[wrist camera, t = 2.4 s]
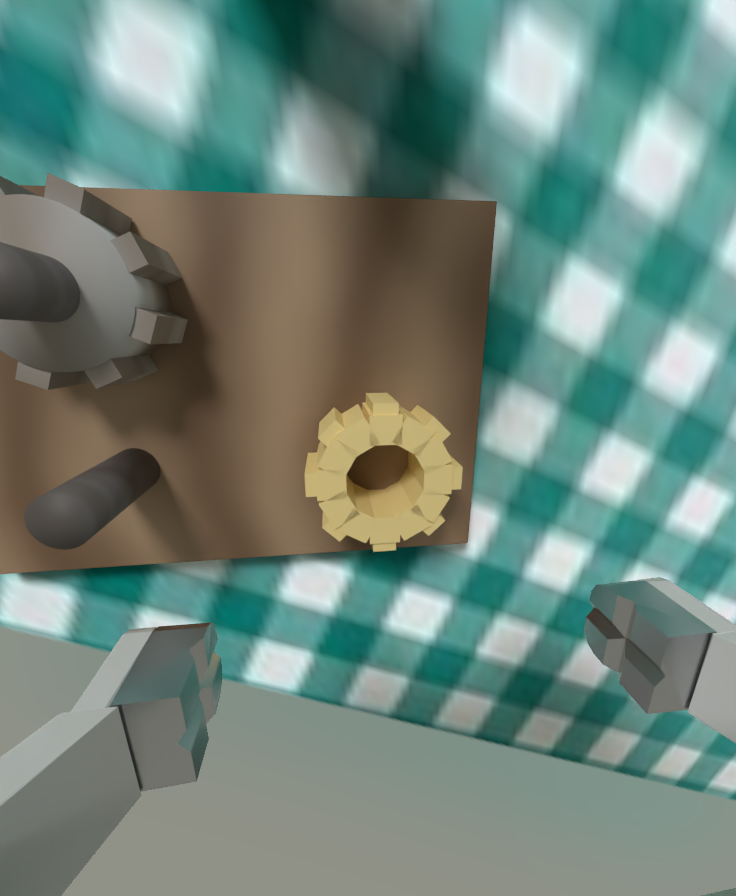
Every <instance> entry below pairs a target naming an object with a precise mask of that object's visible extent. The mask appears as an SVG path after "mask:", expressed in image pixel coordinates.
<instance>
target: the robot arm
mask: <svg viewBox="0 0 736 896" xmlns="http://www.w3.org/2000/svg"><path fill="white" fill-rule="evenodd" d="M590 602H591V604H592V605H593V607H594V609H593V610H592V611H591V612H590V613H589V614H588V616H587V617H586V622H585V629H584V630H585V634H586V638H587V642H588V644H589V646H590V648H591V650H592V651H593V653H594V654H595V656H596V657H597V658H598V659H599V660H600V661H601V663H602V664H604V665H606V666H607V667H609V668H611V669H613V670H614V671H616V672H618V678H619V683H620V684H621V685H622V686H623V687H624V688H625V690H626V691H627V692H628V693H629V694H630V695H631V696H632V697H633V699H634V700H635V701H636V702H637V703H638V704H639V705H640V706H641V708H642V709H643V710H644V711H645V712H646V713H647V714H651V713H660V712H669V711H678V710H687V709H688V713H690V714H692V715H693V716H695V717H696V718H698V719H699V720H701V721H702V722H704V723H705V724H707V725H708V726H710V727H711V728H713V729H714V730H716V731H717V732H719V733H720V734H722V735H724V736H725V737H727V738H728V739H730V740H731V741H733V742H734V743H736V625H735V624H733V623H732V622H730V621H729V620H727V619H726V618H724V617H723V616H721V615H720V614H718V613H717V612H715V611H714V610H712V609H711V608H709V607H708V606H706V605H705V604H703V603H702V602H700V601H699V600H697V599H696V598H695V597H693V596H692V595H690V594H689V593H687V592H686V591H684V590H683V589H681V588H680V587H678V586H677V585H675V584H674V583H672V582H671V581H669V580H666V579H663V578H660V577H658V578H650V579H642V580H637V581H628V582H619V583H609V584H600V585H596V586H595V587H594V588H593V590H592V591H591V596H590ZM217 640H218V638H217V633H216V628H215V625H214V624H213V623H201V624H188V625H174V626H161V627H158V628H156V627H154V628H141V629H131V630H129V631H127V632H126V633H124V634H123V635H122V637H121V638H120V640H119V641H118V642H117V644H116V645H115V647H114V648H113V650H112V651H111V653H110V654H109V656H108V657H107V659H106V660H105V662H104V663H103V665H102V666H101V667H100V669H99V671H98V672H97V673H96V675H95V677H94V678H93V679H92V681H91V682H90V684H89V685H88V687H87V688H86V690H85V691H84V693H83V694H82V695H81V697H80V698H79V700H78V701H77V703H76V704H75V706H74V707H73V709H72V710H71V712H67V713H60V714H59V715H57V716H56V717H55V718H53V719H52V720H50V721H49V722H48V723H47V724H45V725H44V726H42V727H41V728H40V729H38V730H37V731H36V732H34V733H33V734H32V735H30V736H29V737H27V738H26V739H25V740H23V741H22V742H21V743H19V744H18V745H17V746H15V747H14V748H13V749H11V750H10V751H8V752H7V753H6V754H5V755H3V756H2V757H0V896H61V895H62V894H63V893H64V891H65V890H66V889H67V888H68V886H69V885H70V884H71V883H72V881H73V880H74V879H75V878H76V876H77V875H78V874H79V873H80V871H81V870H82V869H83V868H84V866H85V865H86V864H87V863H88V861H89V860H90V859H91V857H92V856H93V855H94V854H95V852H96V851H97V850H98V849H99V848H100V846H101V845H102V843H103V842H104V841H105V840H106V839H107V837H108V836H109V835H110V834H111V832H112V831H113V830H114V829H115V827H116V826H117V825H118V824H119V822H120V821H121V820H122V819H123V817H124V816H125V815H126V814H127V812H128V811H129V810H130V809H131V807H132V806H133V805H134V804H135V802H136V801H137V800H138V799H139V797H140V796H141V791H146V790H152V789H157V788H163V787H168V786H174V785H179V784H185V783H190V782H196V781H197V778H198V775H199V771H200V767H201V764H202V761H203V757H204V754H205V750H206V746H207V743H208V739H209V738H208V732H207V726H206V724H207V722H208V721H209V720H210V719H211V718H212V717H213V716H214V715H215V714H216V711H217V707H218V702H219V699H220V693H221V685H222V664H221V657H219V656H218V655H217V654H216V653H215V652H214V649H215V646H216V643H217ZM702 896H736V888H734V889H729V890H725V891H721V892H716V893H711V894H707V895H702Z"/></svg>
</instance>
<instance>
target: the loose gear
mask: <svg viewBox="0 0 736 896" xmlns="http://www.w3.org/2000/svg"><path fill="white" fill-rule="evenodd" d="M450 434H451V433H450V432H449V431H448V430H447V429H446V428H445V427H444V426H443V425H442V424H441V423H440V422H439V421H438V420H437V419H436V418H435V417H434V416H432V415H431V414H430V413H428V412H427V411H426V410H424V409H423V408H421V407H420V406H419V405H417V406H416V407H415V408H414V409H413V410H412V411H411V412H409V411H408V410H406V409H404V408H402V407H400V406H399V403H398V402H397V401H396V400H395V399H394V398H393V397H392V396H390V395H389V394H388V393H366V402H365V403H362V409H361V408H360V406H359V404H357V405H355V406H354V407H352V408H350V409H349V410H347V411H345V412H344V413H342V414H341V413H340V412H339V411H338V410H337V409H336V408H335V407H334V408H333V409H332V410H331V411H330V412H329V413H328V414H327V415H326V416H325V417H324V418H323V419H322V420H321V421H320V422H319V432H318V439H319V440H320V443H319V445H318V449H317V452H315V453H308V456H307V462H306V468H305V474H304V475H305V491H306V497H317V501H319V506H320V508H321V509H322V511H323V519H322V528H323V529H324V530H325V531H327V532H328V533H329V534H330V535H332V536H333V537H334V538H336V539H337V540H338V541H339V542H340V541H341V540H342V539H343V538H344V537H345V536H346V535H348V536H350V537H352V538H355V539H357V540H359V541H361V542H364V543H366V542H367V541H368V539H369V541H370V544H372V548H373V552H377V551H392V550H396V542H400V535H401V537H402V538H403V540H404V541H405V540H407V539H409V538H410V537H412V536H414V535H415V534H417V533H419V532H421V531H424V532H425V533H426V534H427V535H428V536H429V535H431V534H432V533H433V532H434V531H435V530H436V529H437V528H438V527H439V526H440V525H441V524H442V523H443V522H445V519H444V518H443V516H442V515H441V513H440V512H441V511H442V509H443V508H444V506H445V505H446V503H447V502H448V500H449V499H450V498H449V496H448V495H447V494H451V491H452V490H456V489H461V484H462V470H463V467H462V466H461V465H460V464H459V463H458V462H457V461H456V460H455V459H454V458H453V457H452V456H451V455H449V453H448V452H447V450H446V448H445V446H444V444H443V441H444V440H445V439H446V438H447V437H448V436H449V435H450ZM379 445H398V446H400V447H402V448H404V449H405V450H407V451H409V454H408V467H407V469H406V471H405V472H404V474H403V475H402V477H401V479H400V480H399V481H398V482H396V483H394V484H393V485H391V486H389V487H387V488H386V489H378V490H366V489H364V488H362V487H360V486H358V485H356V484H354V483H352V481H351V480H350V478H349V477H348V475H347V473H348V471H349V469H350V467H351V466H352V464H353V462H354V460H355V459H356V457H357V456H359V455H360V454H362V453H364V452H365V451H367V450H369V449H370V448H372V447H374V446H379Z"/></svg>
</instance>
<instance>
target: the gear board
mask: <svg viewBox="0 0 736 896" xmlns="http://www.w3.org/2000/svg"><path fill="white" fill-rule="evenodd" d="M496 203H497V201H469V200H439V199H410V198H380V197H350V196H321V195H291V194H262V193H232V192H203V191H173V190H144V189H114V188H85V187H78V186H76V185H74V184H71V183H69V182H67V181H65V180H62V179H60V178H58V177H55V176H53V175H51V174H49V173H48V174H47V181H46V186H25V185H17V184H15V183H13V182H11V181H9V180H7V179H5V178H3V177H1V176H0V574H9V573H24V572H39V571H54V570H69V569H84V568H99V567H114V566H129V565H144V564H159V563H174V562H189V561H204V560H219V559H234V558H249V557H264V556H279V555H294V554H309V553H324V552H339V551H354V550H369V549H373V548H372V544H370V541H369V539H368V541H367V542H366V543H364V542H361V541H359V540H357V539H355V538H352V537H350V536H348V535H346V536H345V537H344V538H343V539H342V540H341V541H340V542H339V541H338V540H337V539H336V538H334V537H333V536H332V535H330V534H329V533H328V532H327V531H325V530H324V529H323V528H322V519H323V511H322V509H321V508H320V506H319V501H317V497H306V491H305V475H304V474H305V468H306V462H307V456H308V453H315V452H317V449H318V445H319V443H320V440H319V439H318V432H319V422H320V421H321V420H322V419H323V418H324V417H325V416H326V415H327V414H328V413H329V412H330V411H331V410H332V409H333V408H334V407H335V408H336V409H337V410H338V411H339V412H340V413H341V414H342V413H344V412H345V411H347V410H349V409H350V408H352V407H354V406H355V405H357V404H359V406H360V408H361V409H362V403H365V402H366V393H388V394H389V395H390V396H392V397H393V398H394V399H395V400H396V401H397V402H398V403H399V406H400V407H402V408H404V409H406V410H408V411H409V412H411V411H412V410H413V409H414V408H415V407H416V406H417V405H419V406H420V407H421V408H423V409H424V410H426V411H427V412H428V413H430V414H431V415H432V416H434V417H435V418H436V419H437V420H438V421H439V422H440V423H441V424H442V425H443V426H444V427H445V428H446V429H447V430H448V431H449V432H450V433H451V434H450V435H449V436H448V437H447V438H446V439H445V440H444V441H443V444H444V446H445V448H446V450H447V452H448V453H449V455H451V456H452V457H453V458H454V459H455V460H456V461H457V462H458V463H459V464H460V465H461V466H462V467H463V470H462V484H461V489H456V490H452V491H451V494H447V495H448V496H449V498H450V499H449V500H448V502H447V503H446V505H445V506H444V508H443V509H442V511H441V512H440V513H441V515H442V516H443V518H444V519H445V522H443V523H442V524H441V525H440V526H439V527H438V528H437V529H436V530H435V531H434V532H433V533H432V534H431V535H429V536H428V535H427V534H426V533H425V532H424V531H421V532H419V533H417V534H415V535H414V536H412V537H410V538H409V539H407V540H405V541H404V540H403V538H402V537H401V535H400V542H396V548H399V547H414V546H429V545H444V544H459V543H468V532H469V520H470V508H471V497H472V485H473V473H474V461H475V450H476V438H477V426H478V415H479V403H480V391H481V379H482V368H483V356H484V344H485V332H486V321H487V309H488V297H489V285H490V274H491V262H492V250H493V238H494V227H495V215H496ZM408 454H409V451H407V450H405V449H404V448H402V447H400V446H398V445H379V446H374V447H372V448H370V449H369V450H367V451H365V452H364V453H362V454H360V455H359V456H357V457H356V459H355V460H354V462H353V464H352V466H351V467H350V469H349V471H348V473H347V475H348V477H349V478H350V480H351V481H352V483H354V484H356V485H358V486H360V487H362V488H364V489H366V490H378V489H386V488H387V487H389V486H391V485H393V484H394V483H396V482H398V481H399V480H400V479H401V477H402V475H403V474H404V472H405V471H406V469H407V467H408Z"/></svg>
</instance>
